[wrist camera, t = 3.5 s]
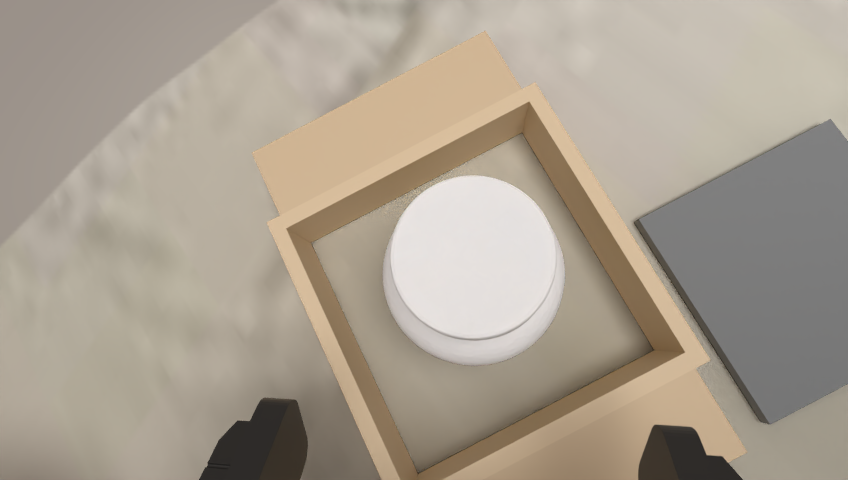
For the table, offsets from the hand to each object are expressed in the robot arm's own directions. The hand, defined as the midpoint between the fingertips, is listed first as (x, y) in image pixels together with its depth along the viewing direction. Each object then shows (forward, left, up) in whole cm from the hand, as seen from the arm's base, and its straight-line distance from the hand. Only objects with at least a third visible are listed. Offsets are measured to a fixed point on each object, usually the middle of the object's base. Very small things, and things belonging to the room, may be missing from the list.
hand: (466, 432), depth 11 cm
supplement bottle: (-2, -3, -9) cm, 10 cm away
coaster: (-14, +2, -9) cm, 17 cm away
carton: (-2, -3, -9) cm, 10 cm away
